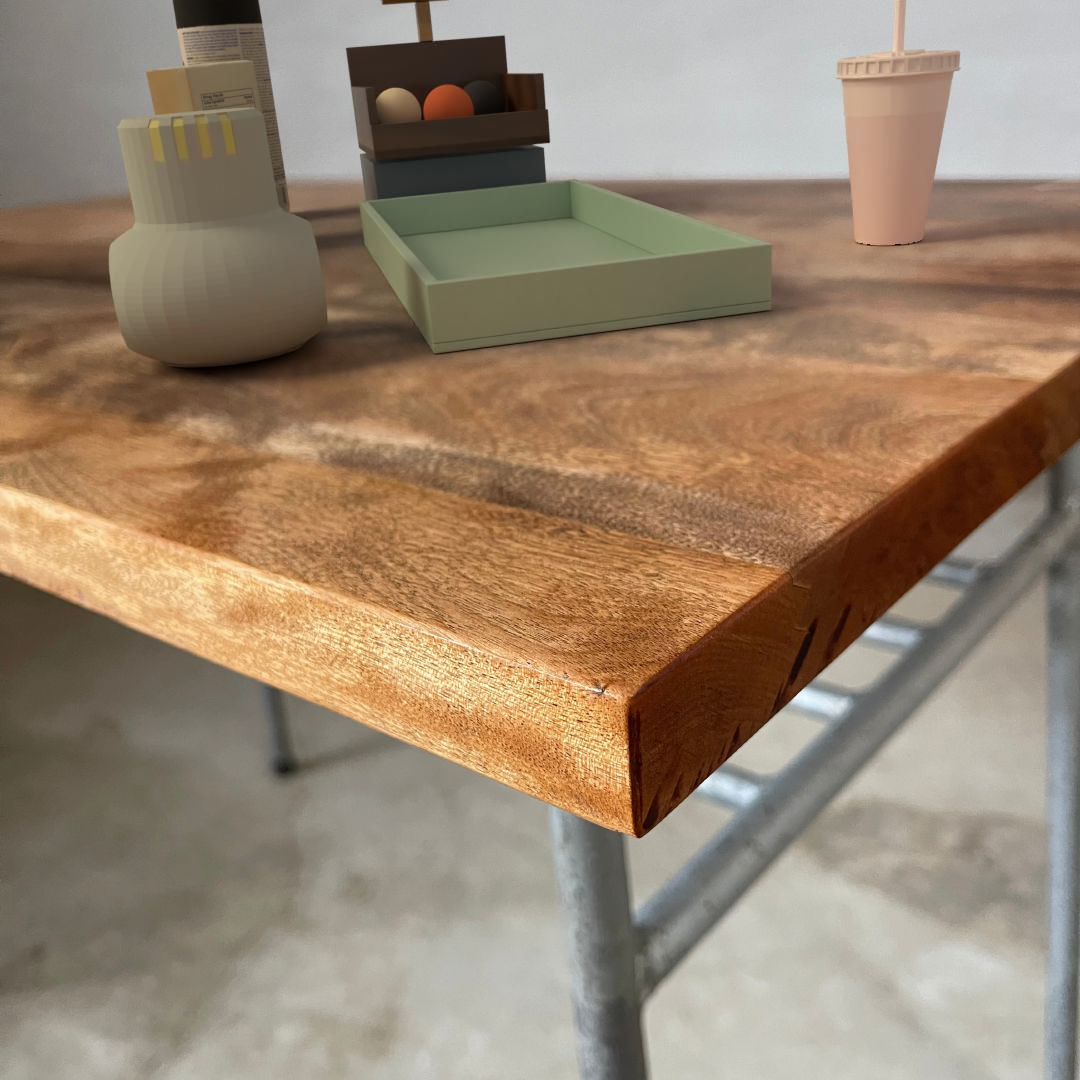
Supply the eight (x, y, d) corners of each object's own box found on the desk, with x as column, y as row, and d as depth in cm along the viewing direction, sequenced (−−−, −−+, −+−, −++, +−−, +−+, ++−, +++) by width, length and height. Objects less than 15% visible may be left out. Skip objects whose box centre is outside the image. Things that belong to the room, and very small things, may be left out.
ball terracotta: (416, 141, 81) (410, 87, 79) (454, 135, 83) (449, 83, 82) (447, 141, 78) (442, 85, 77) (486, 135, 80) (481, 81, 79)
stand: (368, 219, 89) (359, 153, 87) (516, 203, 91) (511, 139, 89) (382, 237, 79) (373, 164, 77) (549, 219, 81) (544, 147, 79)
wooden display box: (358, 148, 87) (336, -16, 83) (510, 133, 90) (497, -27, 85) (375, 160, 75) (350, -31, 71) (550, 143, 77) (538, -44, 73)
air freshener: (339, 368, 46) (300, 107, 42) (129, 397, 44) (67, 128, 40) (317, 317, 55) (284, 102, 51) (145, 339, 54) (97, 118, 50)
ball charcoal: (450, 133, 85) (445, 83, 84) (485, 129, 88) (481, 79, 86) (480, 133, 83) (475, 81, 81) (516, 128, 85) (512, 77, 84)
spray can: (270, 212, 99) (228, -41, 91) (307, 216, 94) (266, -51, 86) (199, 223, 95) (149, -40, 87) (233, 228, 90) (184, -50, 82)
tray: (364, 245, 77) (358, 201, 75) (577, 221, 79) (575, 179, 78) (433, 353, 47) (425, 284, 46) (771, 310, 50) (772, 243, 48)
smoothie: (945, 228, 65) (964, -40, 60) (951, 247, 60) (972, -46, 54) (832, 232, 67) (840, -28, 61) (828, 251, 62) (836, -33, 56)
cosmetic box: (244, 239, 84) (213, 62, 79) (287, 240, 81) (258, 58, 77) (178, 255, 79) (141, 67, 74) (222, 256, 77) (187, 63, 72)
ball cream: (366, 141, 84) (360, 90, 83) (404, 136, 86) (399, 86, 85) (395, 141, 82) (388, 89, 80) (433, 136, 84) (428, 85, 82)
